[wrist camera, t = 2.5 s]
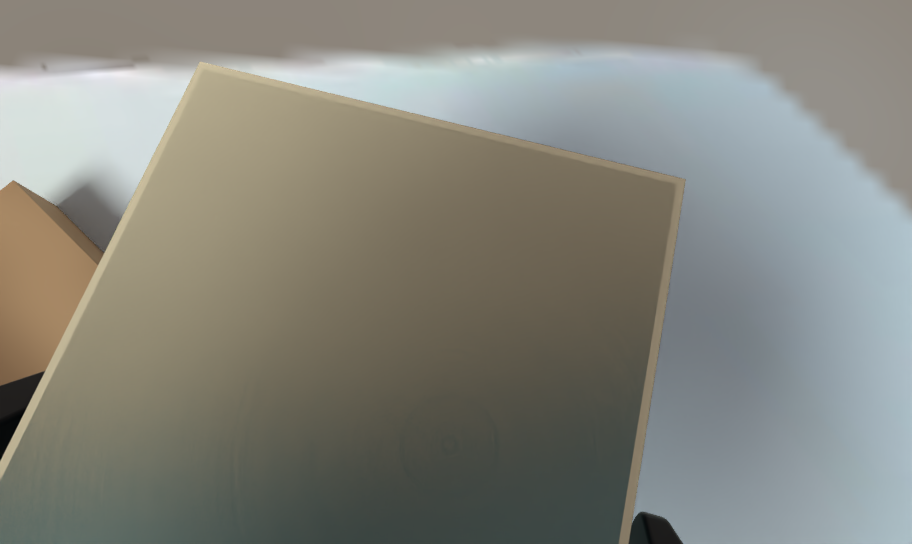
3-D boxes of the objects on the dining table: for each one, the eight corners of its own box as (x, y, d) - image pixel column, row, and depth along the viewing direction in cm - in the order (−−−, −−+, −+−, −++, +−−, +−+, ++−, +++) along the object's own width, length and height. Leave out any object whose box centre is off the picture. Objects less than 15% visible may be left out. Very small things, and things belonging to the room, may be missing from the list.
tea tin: (491, 556, 16) (586, 811, 5) (282, 494, 17) (-69, 597, 5) (539, 344, 18) (685, 179, 7) (351, 293, 19) (200, 61, 7)
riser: (-8, 652, 16) (-89, 689, 14) (-185, 420, 18) (-283, 416, 16) (246, 391, 18) (215, 383, 16) (65, 211, 20) (13, 180, 18)
